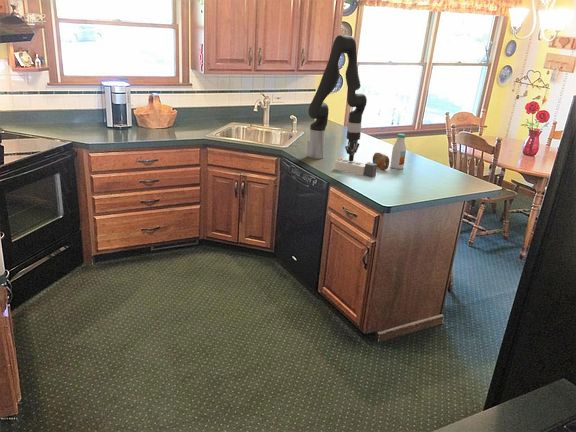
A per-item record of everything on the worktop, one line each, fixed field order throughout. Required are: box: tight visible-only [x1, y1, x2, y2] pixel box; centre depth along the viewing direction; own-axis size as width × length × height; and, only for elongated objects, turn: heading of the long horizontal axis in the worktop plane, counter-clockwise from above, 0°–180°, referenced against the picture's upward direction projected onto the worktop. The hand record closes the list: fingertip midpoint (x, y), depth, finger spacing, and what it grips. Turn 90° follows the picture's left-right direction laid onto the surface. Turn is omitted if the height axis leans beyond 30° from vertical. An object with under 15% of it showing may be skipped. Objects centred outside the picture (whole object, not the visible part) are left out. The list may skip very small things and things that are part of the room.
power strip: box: [334, 157, 366, 177], centre depth 282 cm, size 18×7×6 cm, turn 55°
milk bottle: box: [389, 133, 407, 170], centre depth 292 cm, size 8×8×20 cm
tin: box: [372, 152, 390, 171], centre depth 291 cm, size 15×3×8 cm, turn 21°
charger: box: [363, 162, 378, 178], centre depth 276 cm, size 8×4×6 cm, turn 55°
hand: (350, 160), depth 281 cm, fingers closed
